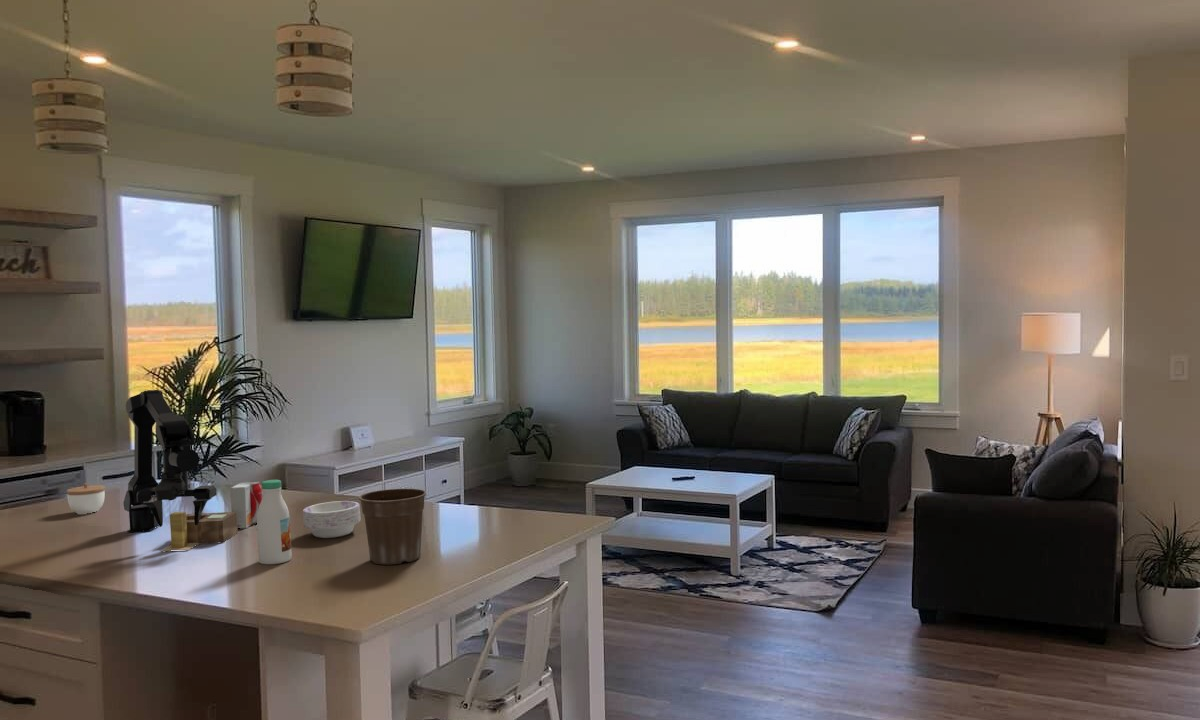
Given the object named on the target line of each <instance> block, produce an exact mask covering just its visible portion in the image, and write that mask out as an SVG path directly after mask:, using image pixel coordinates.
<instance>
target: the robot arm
mask: <svg viewBox="0 0 1200 720" xmlns="http://www.w3.org/2000/svg"><path fill="white" fill-rule="evenodd" d="M125 411H126V413H127V417H128V418H129V420H130V421H131V422H132V424H133V426H134V430H133V431H134V437H133V438H134V440H133V441H134V446H133V447H134V454H133V455H134V459H133V460H134V474H133V476H132V477H130V480H129V481H128V484H127V485H128V486H127V490H126V491H125V492H126V493H125V496H124V499H123V503H122V504H123V508H124V511H126V512H128V516H129V517H128V518H129V520H128V521H129V529H128V530H127V533H135V532H136V533H137V532H138V531H141V532H150V531H149V530H151V531H153V530H155V529H156V528H155V527H157V526H158V527H157V528H159V527H160V528H161V527H163V523H164V512H163V501H174V500H176V499H177V498H181V497H182V498H184V497H185V498H187V497H193V499H195V500H193V501H192V503H193V507H194V511H193V514H194V522H195V525H198V523H199V520H200V517H201V514H202V513H203V511H204V508H205V506H206V505H207V502H208V501H210V500H212V498H214V497H215V496H217V487H216V486H215V485H214V484H209V485H206V484H205V485H199V486H197V487H195V488H194V489H193V488H191V484H190V483H189V473H190V472H191V471H193V470H195V469H196V468H198V466H199V464H200V455H199V454H198V452H197V451H196V450H194V449H192V446H195V445H196V443H195V441H196V436H195V434H194V432H193V431H194V430H193V429H192V427H191V425H190V423H189V422H188V421H187V419H186V418H185V417H183V416H182V415H180V414H176V413H174V412H173V409H171V407H170V405H169V404H168V402H167V400H166V398H165V397H164V394H163V391H162V390H159V389H150V390H143V391H141V392H140V393H139V394H136V395H132V396H130V397H129V398H128V399H127V401H126V402H125ZM155 424H156V425H157V426H156V428H155V435H156V438H157V440H158V442H159V444H160V446H161V449H162V460H163V461H162V463H163V464H162V465H163V472H161V480H160V481H159V482H158V481H157V480H156V478H154V476H153V427H154V425H155ZM154 528H155V529H154ZM152 529H153V530H152Z"/></svg>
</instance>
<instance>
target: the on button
mask: <svg viewBox="0 0 1200 720" xmlns="http://www.w3.org/2000/svg"><path fill="white" fill-rule="evenodd" d="M225 516H227V514H222V515H211V516H209V517H208V518H207V519H217V518H224V517H225Z"/></svg>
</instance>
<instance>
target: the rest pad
mask: <svg viewBox="0 0 1200 720" xmlns="http://www.w3.org/2000/svg"><path fill="white" fill-rule="evenodd" d="M197 544H198V543H188V545H187V546H186V547H184V548H172V546H171V544H170V545H168V546H166V547H165V548H163V549H161V550H160V552H161V551H171V550H189V549H191V548H192V547H194V546H195V545H197ZM198 545H199V544H198ZM198 545H197V546H198ZM195 547H196V546H195ZM195 547H194V548H195ZM192 549H193V548H192ZM192 549H191V550H192ZM189 551H190V550H189Z"/></svg>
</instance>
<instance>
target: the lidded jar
mask: <svg viewBox="0 0 1200 720" xmlns="http://www.w3.org/2000/svg"><path fill="white" fill-rule="evenodd" d="M105 490H106V487H105V486H104V485H96V484H94V485H93V484H92V485H88V482H86V483H83V485H82V486H77V487H72V488H68V489H67V490H66V497H67V498H66V499H67V502H68V506H69V508H70V510H72V511H73V512H74V513H77V514H76V515H88V514H87V513H91V514H93V513H92V512H96V511H98V512H99V511H100V509H101V508H102V506H103V505H104V502H105V496H106V495H105V492H106V491H105ZM96 513H97V512H96Z"/></svg>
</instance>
